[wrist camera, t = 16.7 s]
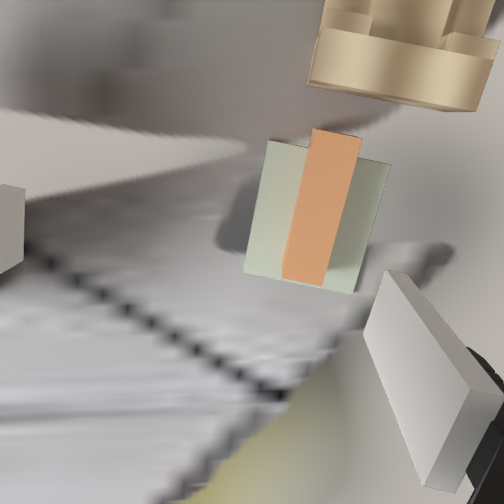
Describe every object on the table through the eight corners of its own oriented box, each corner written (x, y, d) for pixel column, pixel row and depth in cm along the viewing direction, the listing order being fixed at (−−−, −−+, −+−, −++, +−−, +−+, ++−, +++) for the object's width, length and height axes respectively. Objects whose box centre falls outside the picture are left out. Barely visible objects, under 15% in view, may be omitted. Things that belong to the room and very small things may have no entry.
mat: (243, 270, 44) (242, 272, 44) (268, 139, 39) (268, 140, 39) (351, 292, 44) (352, 294, 43) (389, 163, 39) (391, 164, 39)
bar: (281, 263, 43) (281, 277, 39) (313, 127, 38) (316, 129, 34) (318, 271, 43) (322, 286, 39) (354, 136, 38) (362, 138, 34)
